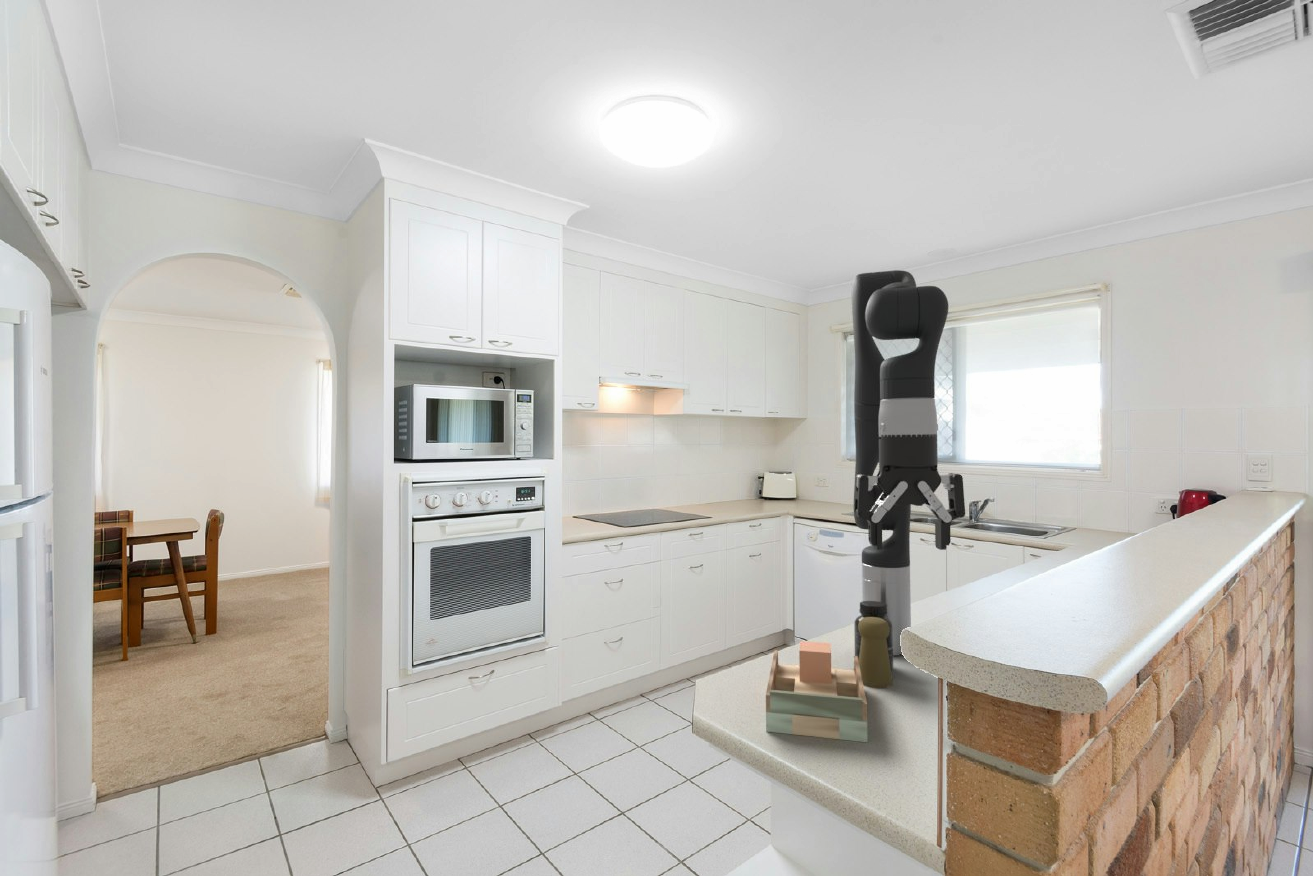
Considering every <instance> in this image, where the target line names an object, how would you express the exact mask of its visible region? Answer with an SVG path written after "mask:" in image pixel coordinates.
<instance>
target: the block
mask: <svg viewBox="0 0 1313 876" xmlns="http://www.w3.org/2000/svg"><path fill="white" fill-rule="evenodd" d="M831 646H832V645H831V643H830V642H820V641H818V642H817V641H803V640H800V641H799V648H798V649H799V651H798V653H799V658H798V659H799V660H798V661H799V665H800V681H803V682H814V683H826V684H831V668H832V648H831Z"/></svg>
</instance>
